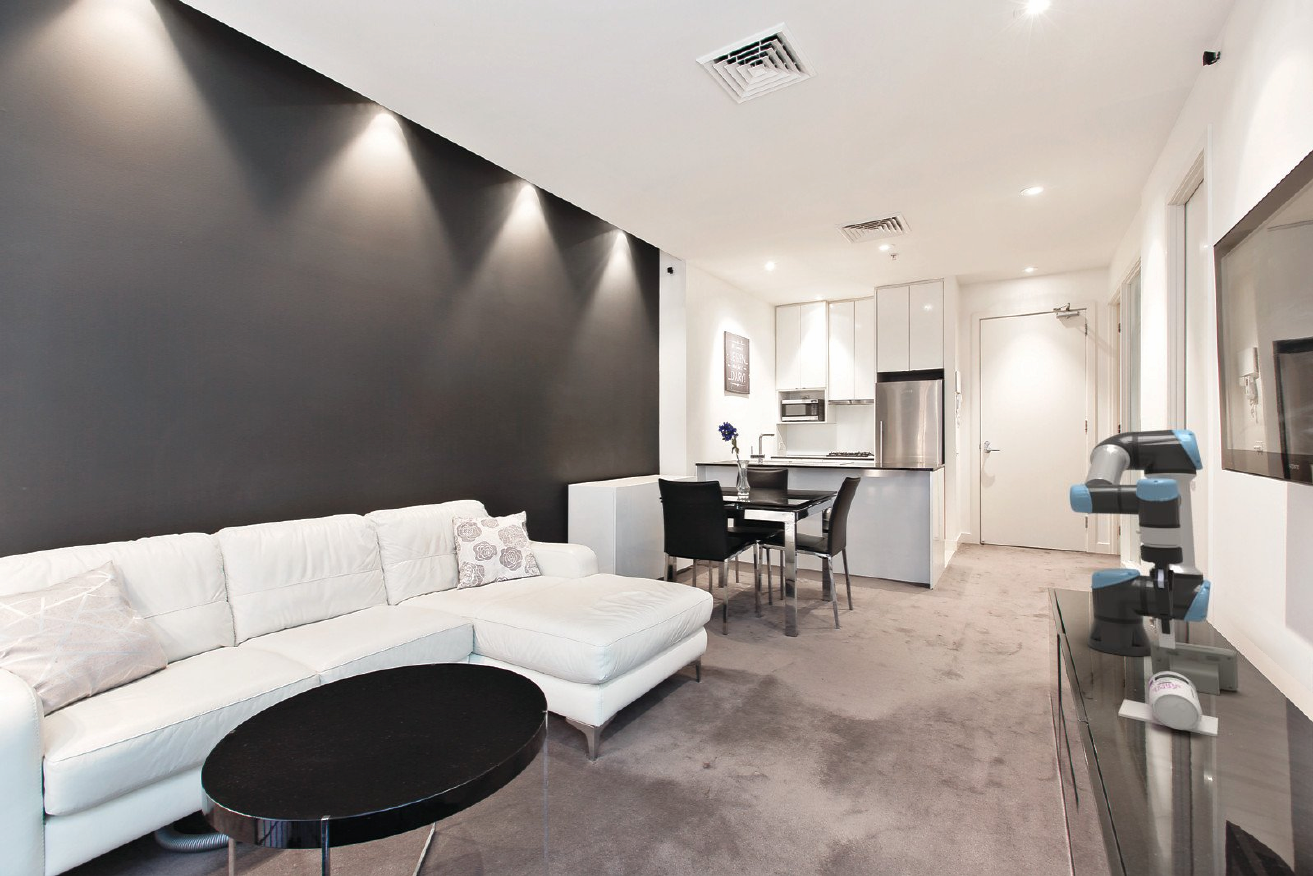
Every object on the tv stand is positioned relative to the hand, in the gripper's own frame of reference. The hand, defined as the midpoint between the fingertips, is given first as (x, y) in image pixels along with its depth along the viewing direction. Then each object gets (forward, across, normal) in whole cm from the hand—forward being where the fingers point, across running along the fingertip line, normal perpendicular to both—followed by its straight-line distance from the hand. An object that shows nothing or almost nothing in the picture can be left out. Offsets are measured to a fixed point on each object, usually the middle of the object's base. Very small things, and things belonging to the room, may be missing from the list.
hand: (1167, 646), depth 138 cm
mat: (+13, +11, 0) cm, 17 cm away
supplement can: (+8, +4, +1) cm, 9 cm away
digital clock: (+14, -16, +4) cm, 22 cm away
